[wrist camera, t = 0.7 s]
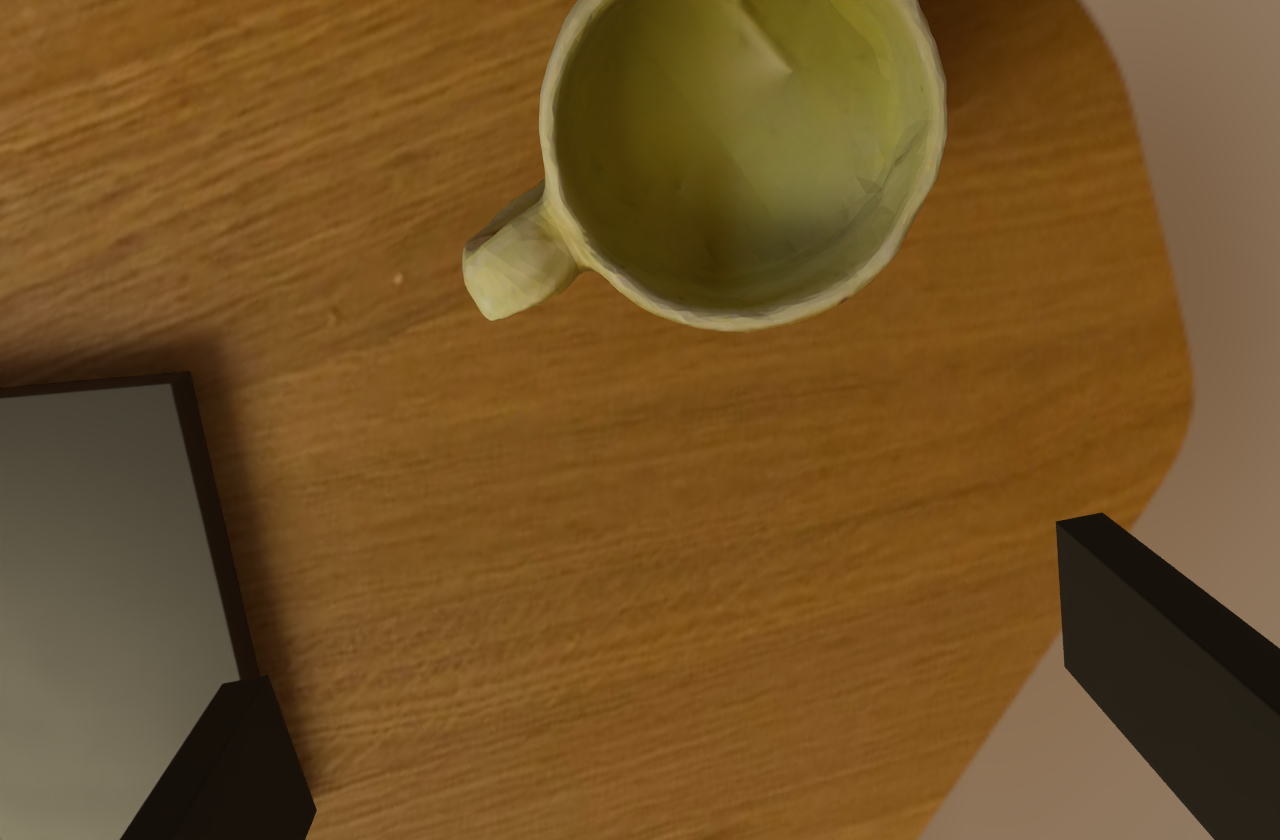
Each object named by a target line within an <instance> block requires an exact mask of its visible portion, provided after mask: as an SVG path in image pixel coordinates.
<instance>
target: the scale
mask: <svg viewBox="0 0 1280 840" xmlns="http://www.w3.org/2000/svg"><path fill="white" fill-rule="evenodd" d="M254 677H259V674H258V669H257V665H256V660H255V656H254V652H253V647H252V643H251V639H250V634H249V630H248V626H247V621H246V617H245V612H244V608H243V604H242V599H241V595H240V591H239V586H238V582H237V578H236V573H235V569H234V564H233V560H232V556H231V551H230V547H229V543H228V538H227V534H226V530H225V525H224V521H223V516H222V512H221V508H220V503H219V499H218V495H217V490H216V486H215V482H214V477H213V473H212V468H211V464H210V460H209V455H208V451H207V447H206V442H205V438H204V433H203V429H202V425H201V420H200V416H199V412H198V407H197V403H196V399H195V394H194V390H193V385H192V381H191V377H190V373H189V372H177V373H166V374H155V375H143V376H132V377H120V378H109V379H98V380H86V381H75V382H63V383H52V384H41V385H29V386H18V387H6V388H0V840H120V838H121V837H122V835H123V834H124V832H125V831H126V829H127V828H128V826H129V825H130V823H131V822H132V820H133V818H134V817H135V815H136V814H137V812H138V811H139V809H140V808H141V806H142V805H143V803H144V802H145V800H146V799H147V797H148V796H149V794H150V793H151V791H152V790H153V788H154V787H155V785H156V784H157V782H158V781H159V779H160V778H161V776H162V775H163V773H164V771H165V770H166V768H167V767H168V765H169V764H170V762H171V761H172V759H173V758H174V756H175V755H176V753H177V752H178V750H179V749H180V747H181V746H182V744H183V743H184V741H185V740H186V738H187V737H188V735H189V734H190V732H191V731H192V729H193V728H194V726H195V724H196V723H197V721H198V720H199V718H200V717H201V715H202V714H203V712H204V711H205V709H206V708H207V706H208V705H209V703H210V702H211V700H212V699H213V697H214V696H215V694H216V693H217V691H218V690H219V688H220V687H221V685H222V684H223V683H228V682H234V681H239V680H244V679H249V678H254Z"/></svg>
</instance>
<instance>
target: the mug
mask: <svg viewBox="0 0 1280 840" xmlns="http://www.w3.org/2000/svg"><path fill="white" fill-rule="evenodd" d="M946 97H947V82H946V76H945V73H944V69H943V66H942V63H941V59H940V56H939V52H938V48H937V45H936V42H935V39H934V38H933V36H932V34H931V31H930V27H929V23H928V20H927V19H926V17H925V15H924V13H923V12H922V10H921V8H920V6H919V2H918V0H578V1H577V2H576V3H575V5H574V6H573V7H572V9H571V11H570V12H569V14H568V15H567V17H566V19H565V21H564V23H563V25H562V28H561V30H560V33H559V35H558V38H557V41H556V43H555V46H554V49H553V52H552V54H551V57H550V60H549V63H548V66H547V69H546V73H545V77H544V80H543V84H542V88H541V92H540V111H539V134H540V140H541V147H542V153H543V160H544V167H545V179H543V180H542V181H540V183H539V184H538V185H537V186H535V187H534V188H533V189H531V190H529V191H527V192H525V193H523V194H522V195H520V196H518V197H517V198H515V199H514V200H512V201H511V202H510V203H509V204H508V205H507V206H505V207H504V208H503V209H502V210H501V211H499V212H498V213H497V215H496V217H495V218H494V219H493V220H492V221H491V222H490V223H489V225H488V226H486V227H485V228H484V229H482V230H481V231H480V232H478V233H477V234H476V235H475V236H473V237H472V238H471V239H470V240H469V241H467V243H466V245H465V247H464V250H463V254H462V258H463V275H464V282H465V285H466V288H467V289H468V291H469V293H470V294H471V296H472V298H473V299H474V301H475V303H476V304H477V306H478V308H479V309H480V311H481V312H482V314H483V315H484V316H485V317H486V318H487V319H489V320H491V321H492V320H498V319H502V318H506V317H509V316H511V315H514V314H516V313H518V312H520V311H523V310H526V309H529V308H531V307H534V306H536V305H539V304H541V303H542V302H544V301H546V300H548V299H549V298H551V297H553V296H556V295H558V294H560V293H561V292H563V291H564V290H565V289H566V288H567V287H568V286H569V285H570V284H571V283H572V282H573V281H574V279H575V278H576V277H577V276H578V275H579V274H581V273H583V272H587V271H596V272H599V273H600V274H601V275H603V276H604V277H605V278H606V279H607V280H608V281H609V282H610V283H611V284H612V285H613V286H614V287H615V288H616V289H617V290H618V291H620V292H621V293H622V294H624V295H625V296H626V297H628V298H629V299H630V300H632V301H633V302H634V303H636V304H637V305H638V306H640V307H642V308H643V309H645V310H647V311H649V312H651V313H653V314H655V315H658V316H661V317H664V318H666V319H669V320H672V321H675V322H677V323H680V324H683V325H687V326H690V327H694V328H700V329H706V330H713V331H728V332H748V333H752V332H757V331H762V330H767V329H772V328H777V327H782V326H787V325H790V324H794V323H798V322H801V321H804V320H807V319H809V318H812V317H814V316H817V315H818V314H820V313H822V312H824V311H826V310H829V309H831V308H833V307H835V306H837V305H839V304H841V303H843V302H844V301H846V300H847V299H849V298H851V297H852V296H854V295H855V294H857V293H858V292H859V291H860V290H862V289H863V288H864V287H865V286H866V285H868V284H869V283H870V282H871V281H872V280H873V279H874V278H875V277H876V275H877V274H878V273H879V272H880V271H881V270H882V269H883V268H884V267H885V266H886V265H887V264H888V263H889V262H890V261H891V260H892V258H893V257H894V256H895V254H896V253H897V252H898V251H899V249H900V247H901V243H902V242H903V240H904V238H905V237H906V235H907V233H908V230H909V228H910V226H911V224H912V223H913V221H914V219H915V217H916V215H917V213H918V212H919V210H920V208H921V206H922V204H923V201H924V199H925V197H926V196H927V194H928V192H929V191H930V189H931V188H932V187H933V185H934V183H935V181H936V179H937V177H938V170H939V167H940V163H941V159H942V156H943V151H944V147H945V142H946V137H947V105H946Z"/></svg>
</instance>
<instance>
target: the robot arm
mask: <svg viewBox="0 0 1280 840" xmlns="http://www.w3.org/2000/svg"><path fill="white" fill-rule="evenodd" d="M1056 533H1057V549H1058V566H1059V582H1060V599H1061V616H1062V632H1063V647H1064V648H1063V649H1064V665H1065V668H1066V669H1067V670H1068V671H1069V672H1070V673H1071V675H1072V676H1073V677H1074V678H1075V679H1076V680H1077V682H1078V683H1079V684H1080V685H1081V686H1082V687H1083V688H1084V690H1085V691H1086V692H1087V693H1088V694H1089V695H1090V696H1091V698H1092V699H1093V700H1094V701H1095V702H1096V703H1097V705H1098V706H1099V707H1100V708H1101V709H1102V710H1103V712H1104V713H1105V714H1106V715H1107V716H1108V717H1109V718H1110V720H1111V721H1112V722H1113V723H1114V724H1115V725H1116V727H1117V728H1118V729H1119V730H1120V731H1121V732H1122V733H1123V735H1124V736H1125V737H1126V738H1127V739H1128V740H1129V741H1130V743H1132V745H1133V746H1134V747H1135V748H1136V750H1137V751H1138V752H1139V753H1140V754H1141V755H1142V757H1143V758H1144V759H1145V760H1146V761H1147V762H1148V763H1149V764H1150V766H1151V767H1152V768H1153V769H1154V770H1155V771H1156V773H1157V774H1158V775H1159V776H1160V777H1161V778H1162V780H1163V781H1164V782H1165V783H1166V784H1167V785H1168V787H1169V788H1170V789H1171V790H1172V791H1173V792H1174V793H1175V795H1176V796H1177V797H1178V798H1179V799H1180V800H1181V802H1182V803H1183V804H1184V805H1185V806H1186V807H1187V808H1188V810H1189V811H1190V812H1191V813H1192V814H1193V815H1194V816H1195V818H1196V819H1197V820H1198V821H1199V822H1200V824H1201V825H1202V826H1203V827H1204V828H1205V829H1206V830H1207V832H1208V833H1209V834H1210V835H1211V836H1212V837H1213V838H1214V840H1280V648H1278V647H1277V646H1276V645H1274V644H1273V643H1272V642H1270V641H1269V640H1268V639H1267V638H1265V637H1264V636H1263V635H1261V634H1260V633H1259V632H1257V631H1256V630H1255V629H1253V628H1252V627H1251V626H1249V625H1248V624H1247V623H1246V622H1244V621H1243V620H1242V619H1240V618H1239V617H1238V616H1237V615H1235V614H1234V613H1233V612H1231V611H1230V610H1229V609H1227V608H1226V607H1225V606H1223V605H1222V604H1221V603H1219V602H1218V601H1217V600H1216V599H1214V598H1213V597H1212V596H1210V595H1209V594H1208V593H1207V592H1205V591H1204V590H1203V589H1201V588H1200V587H1199V586H1197V585H1196V584H1195V583H1194V582H1192V581H1191V580H1190V579H1188V578H1187V577H1186V576H1184V575H1183V574H1182V573H1180V572H1179V571H1178V570H1176V569H1175V568H1174V567H1173V566H1171V565H1170V564H1169V563H1167V562H1166V561H1165V560H1164V559H1162V558H1161V557H1160V556H1158V555H1157V554H1156V553H1154V552H1153V551H1152V550H1150V549H1149V548H1148V547H1147V546H1145V545H1144V544H1143V543H1141V542H1140V541H1138V540H1137V539H1136V538H1135V537H1133V536H1132V535H1131V534H1130V533H1128V532H1127V531H1126V530H1124V529H1123V528H1122V527H1120V526H1119V525H1118V524H1117V523H1115V522H1114V521H1113V520H1111V519H1110V518H1109V517H1107V516H1106V515H1105V514H1104V513H1098V514H1092V515H1087V516H1082V517H1077V518H1072V519H1067V520H1062V521H1056ZM316 811H317V810H316V807H315V804H314V802H313V799H312V796H311V793H310V791H309V788H308V785H307V782H306V779H305V777H304V774H303V771H302V768H301V766H300V763H299V760H298V757H297V754H296V752H295V749H294V746H293V743H292V740H291V738H290V735H289V732H288V729H287V727H286V724H285V721H284V718H283V715H282V713H281V710H280V707H279V704H278V702H277V699H276V696H275V693H274V690H273V688H272V685H271V682H270V679H269V677H268V675H264V676H259V677H254V678H249V679H244V680H239V681H234V682H228V683H223V684H222V685H221V687H220V688H219V690H218V691H217V693H216V694H215V696H214V697H213V699H212V700H211V702H210V703H209V705H208V706H207V708H206V709H205V711H204V712H203V714H202V715H201V717H200V718H199V720H198V721H197V723H196V724H195V726H194V728H193V729H192V731H191V732H190V734H189V735H188V737H187V738H186V740H185V741H184V743H183V744H182V746H181V747H180V749H179V750H178V752H177V753H176V755H175V756H174V758H173V759H172V761H171V762H170V764H169V765H168V767H167V768H166V770H165V771H164V773H163V775H162V776H161V778H160V779H159V781H158V782H157V784H156V785H155V787H154V788H153V790H152V791H151V793H150V794H149V796H148V797H147V799H146V800H145V802H144V803H143V805H142V806H141V808H140V809H139V811H138V812H137V814H136V815H135V817H134V818H133V820H132V822H131V823H130V825H129V826H128V828H127V829H126V831H125V832H124V834H123V835H122V837H121V838H120V840H305V839H306V836H307V834H308V831H309V829H310V826H311V824H312V821H313V819H314V816H315V814H316Z"/></svg>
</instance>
